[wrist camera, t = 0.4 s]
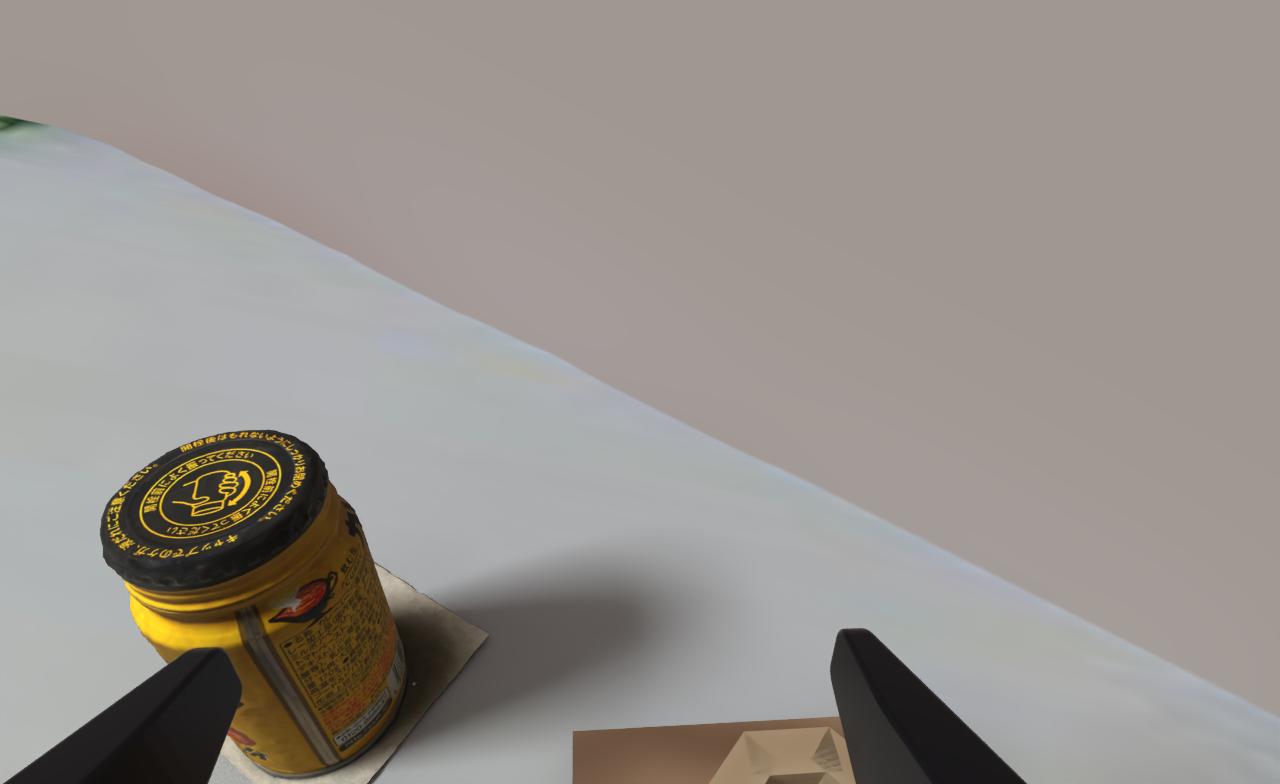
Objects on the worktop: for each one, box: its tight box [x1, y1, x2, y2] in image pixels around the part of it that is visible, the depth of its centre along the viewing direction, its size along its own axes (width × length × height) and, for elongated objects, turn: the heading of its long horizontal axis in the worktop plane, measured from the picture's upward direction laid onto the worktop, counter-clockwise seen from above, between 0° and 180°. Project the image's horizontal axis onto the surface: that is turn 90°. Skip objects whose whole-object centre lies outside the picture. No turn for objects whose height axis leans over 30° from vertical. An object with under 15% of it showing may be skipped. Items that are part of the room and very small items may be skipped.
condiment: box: [100, 430, 489, 784], centre depth 20 cm, size 7×8×12 cm
